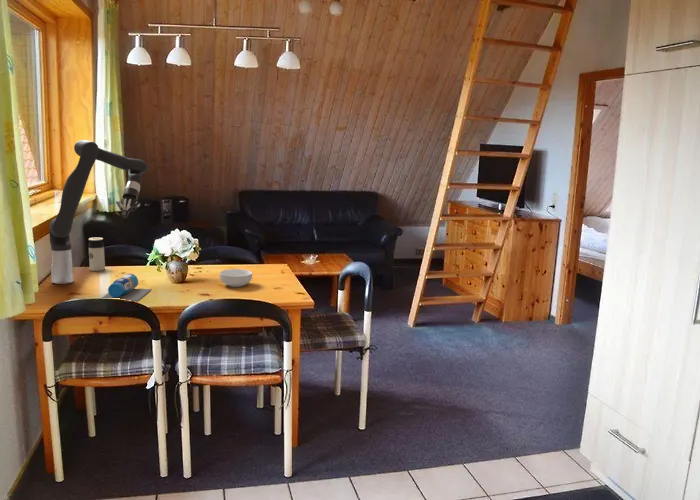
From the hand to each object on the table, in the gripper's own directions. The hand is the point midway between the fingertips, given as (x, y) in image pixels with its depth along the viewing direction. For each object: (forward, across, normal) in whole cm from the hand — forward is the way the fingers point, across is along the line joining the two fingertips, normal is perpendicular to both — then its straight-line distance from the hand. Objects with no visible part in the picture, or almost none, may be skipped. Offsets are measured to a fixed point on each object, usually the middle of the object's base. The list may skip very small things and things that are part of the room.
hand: (124, 217), depth 305 cm
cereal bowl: (+28, +59, +21) cm, 68 cm away
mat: (+45, +10, +3) cm, 46 cm away
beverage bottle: (+34, +8, +9) cm, 36 cm away
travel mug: (+9, -24, +39) cm, 47 cm away
